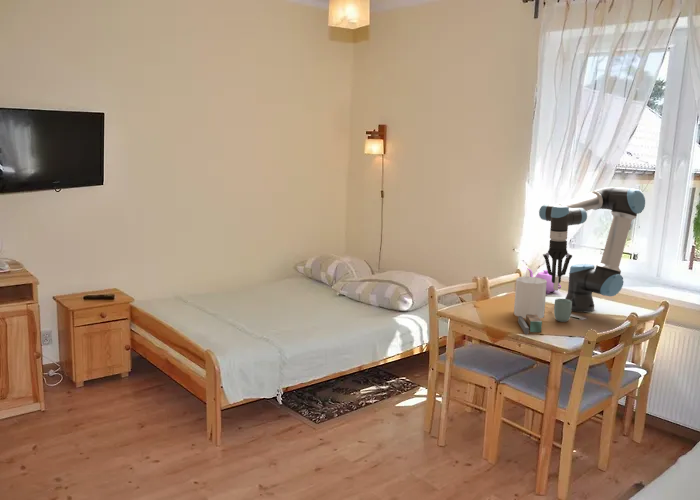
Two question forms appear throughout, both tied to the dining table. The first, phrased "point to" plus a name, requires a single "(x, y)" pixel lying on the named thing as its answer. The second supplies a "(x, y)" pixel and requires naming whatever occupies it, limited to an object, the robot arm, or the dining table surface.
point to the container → (530, 296)
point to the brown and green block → (533, 323)
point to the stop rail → (523, 325)
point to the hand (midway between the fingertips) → (555, 289)
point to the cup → (562, 309)
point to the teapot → (548, 278)
